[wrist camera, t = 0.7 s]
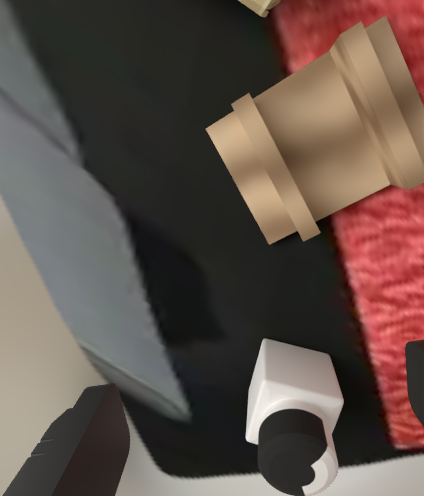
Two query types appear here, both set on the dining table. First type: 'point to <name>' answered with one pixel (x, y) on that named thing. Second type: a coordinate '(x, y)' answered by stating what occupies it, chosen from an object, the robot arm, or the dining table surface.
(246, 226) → the dining table surface
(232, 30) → the dining table surface
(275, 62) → the dining table surface
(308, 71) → the stand
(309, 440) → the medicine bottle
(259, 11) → the scroll
